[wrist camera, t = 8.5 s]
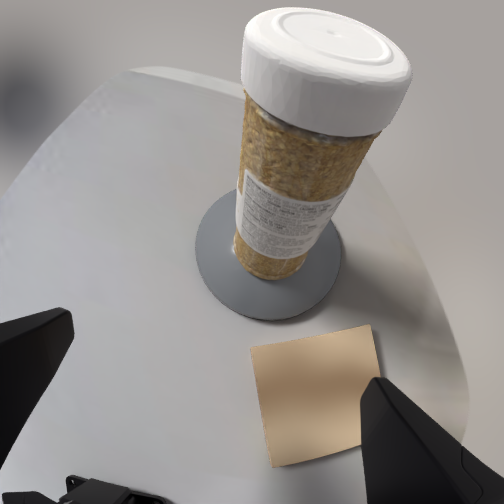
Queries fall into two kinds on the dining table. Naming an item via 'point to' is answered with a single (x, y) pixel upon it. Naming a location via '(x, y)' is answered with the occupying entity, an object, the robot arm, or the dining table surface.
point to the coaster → (252, 287)
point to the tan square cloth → (313, 393)
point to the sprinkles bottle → (307, 127)
